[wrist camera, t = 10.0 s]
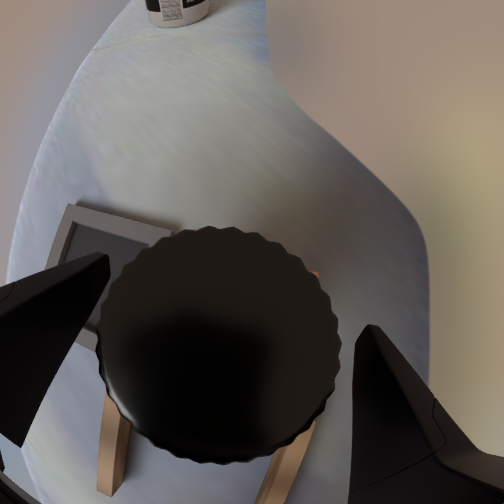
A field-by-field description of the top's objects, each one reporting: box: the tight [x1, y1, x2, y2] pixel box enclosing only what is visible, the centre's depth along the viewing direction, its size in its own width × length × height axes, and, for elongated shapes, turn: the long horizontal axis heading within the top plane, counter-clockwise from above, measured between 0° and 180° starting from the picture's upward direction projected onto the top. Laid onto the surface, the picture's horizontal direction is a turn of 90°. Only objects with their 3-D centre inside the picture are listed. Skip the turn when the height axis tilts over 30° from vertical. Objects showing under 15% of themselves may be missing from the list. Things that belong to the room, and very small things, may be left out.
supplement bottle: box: [95, 226, 342, 465], centre depth 10 cm, size 7×7×12 cm
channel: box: [97, 391, 316, 504], centre depth 13 cm, size 11×12×2 cm
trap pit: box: [45, 203, 174, 352], centre depth 17 cm, size 9×9×1 cm
